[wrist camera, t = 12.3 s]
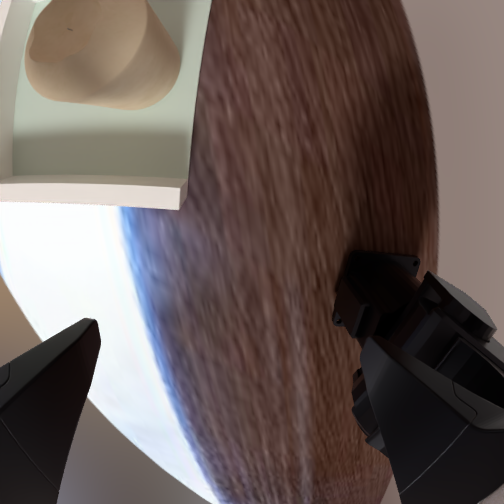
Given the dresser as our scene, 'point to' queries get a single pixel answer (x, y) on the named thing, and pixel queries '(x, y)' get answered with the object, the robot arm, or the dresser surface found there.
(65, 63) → the candle
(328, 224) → the dresser surface
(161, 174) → the box
